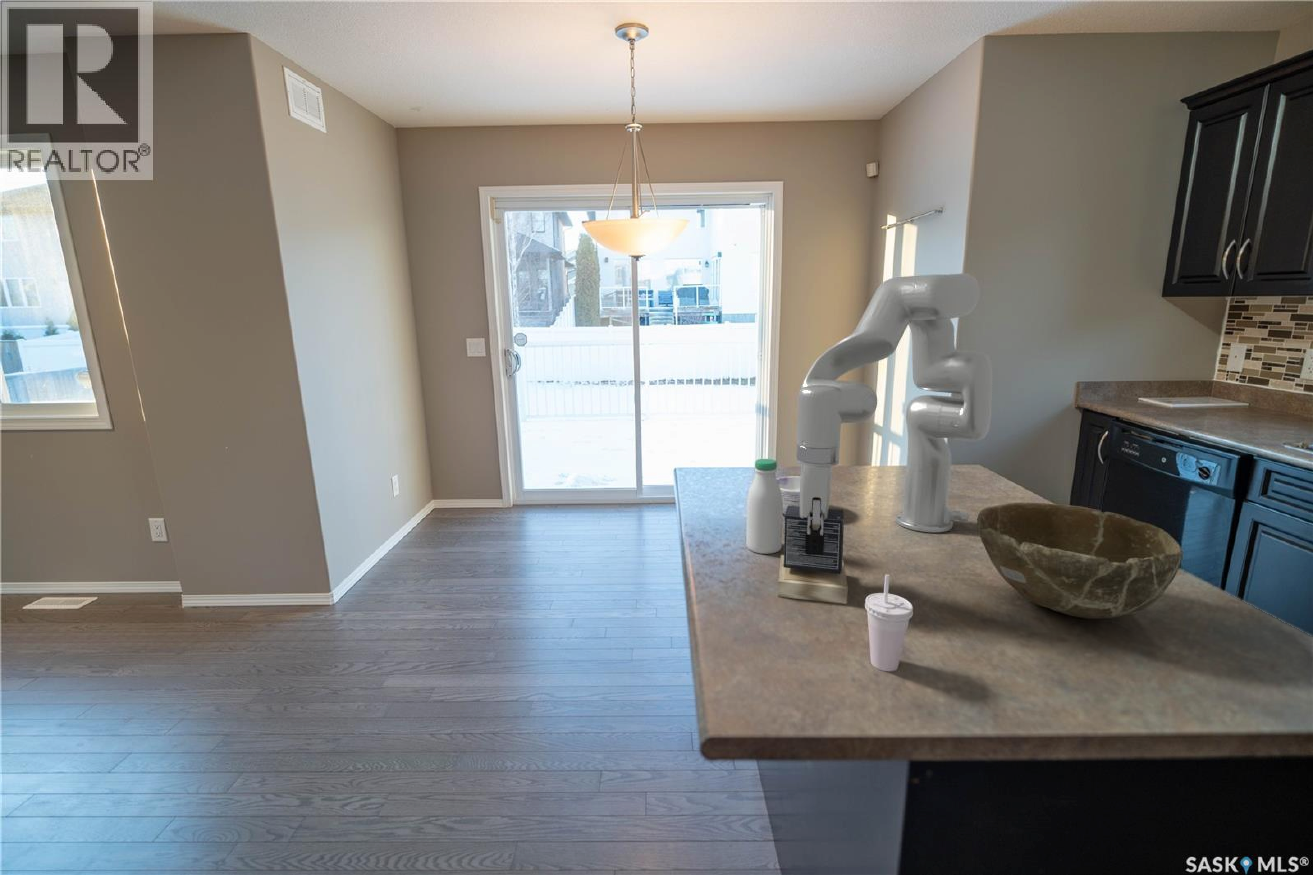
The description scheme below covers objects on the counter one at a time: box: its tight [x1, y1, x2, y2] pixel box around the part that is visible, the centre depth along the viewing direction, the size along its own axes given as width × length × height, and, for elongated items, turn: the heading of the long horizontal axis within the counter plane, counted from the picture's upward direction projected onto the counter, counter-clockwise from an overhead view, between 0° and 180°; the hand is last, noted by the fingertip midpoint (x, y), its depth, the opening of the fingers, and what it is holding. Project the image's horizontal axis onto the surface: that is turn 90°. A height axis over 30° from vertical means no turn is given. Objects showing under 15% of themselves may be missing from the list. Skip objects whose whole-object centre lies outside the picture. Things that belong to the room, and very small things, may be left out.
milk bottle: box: [745, 458, 784, 555], centre depth 121 cm, size 8×8×20 cm
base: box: [777, 554, 849, 605], centre depth 105 cm, size 12×12×3 cm
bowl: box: [976, 502, 1184, 620], centre depth 94 cm, size 28×27×15 cm
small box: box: [783, 506, 845, 574], centre depth 103 cm, size 11×6×10 cm, turn 71°
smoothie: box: [864, 573, 914, 672], centre depth 80 cm, size 6×6×14 cm
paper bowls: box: [776, 475, 801, 515], centre depth 145 cm, size 15×15×8 cm
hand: (813, 545), depth 104 cm, fingers closed on small box, 6 cm apart
